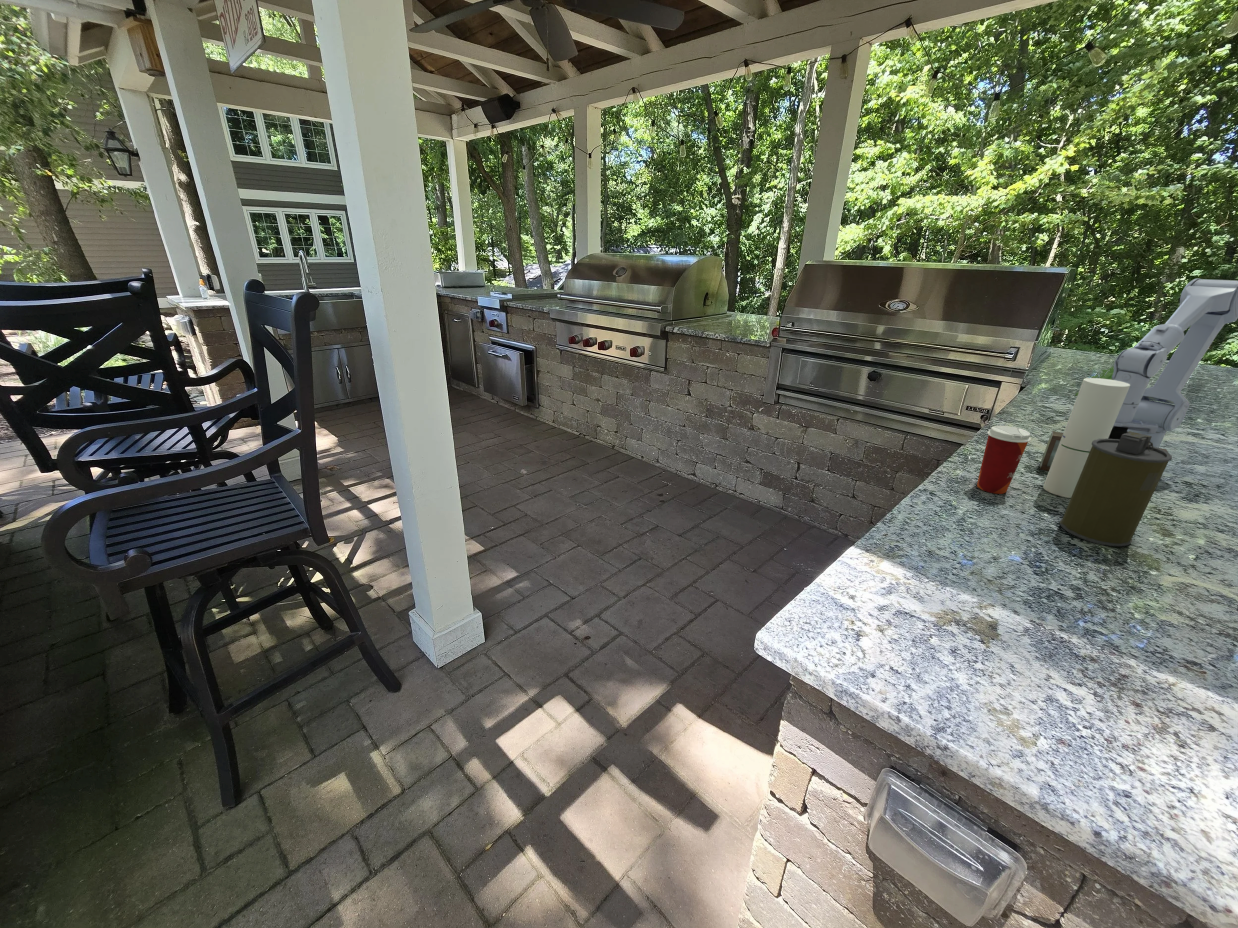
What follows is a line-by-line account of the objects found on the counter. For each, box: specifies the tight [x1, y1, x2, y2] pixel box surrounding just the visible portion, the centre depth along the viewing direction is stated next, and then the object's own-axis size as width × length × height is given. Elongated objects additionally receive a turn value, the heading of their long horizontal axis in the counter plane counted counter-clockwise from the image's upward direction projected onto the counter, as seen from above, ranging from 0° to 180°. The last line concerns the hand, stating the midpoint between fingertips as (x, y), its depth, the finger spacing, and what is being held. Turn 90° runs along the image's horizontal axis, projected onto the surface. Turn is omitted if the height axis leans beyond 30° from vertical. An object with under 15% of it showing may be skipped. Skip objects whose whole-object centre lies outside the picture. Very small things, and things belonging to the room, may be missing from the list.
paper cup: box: [976, 425, 1032, 495], centre depth 111 cm, size 8×8×14 cm
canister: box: [1059, 431, 1173, 548], centre depth 92 cm, size 11×10×20 cm
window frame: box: [1039, 430, 1169, 472], centre depth 117 cm, size 4×20×9 cm, turn 53°
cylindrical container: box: [1042, 377, 1130, 499], centre depth 107 cm, size 7×7×25 cm
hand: (1100, 455), depth 121 cm, fingers closed
